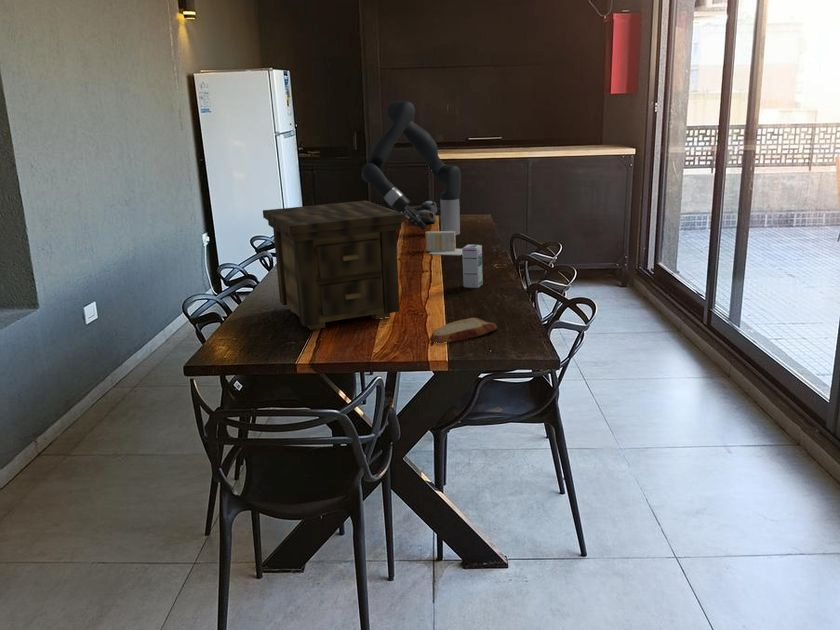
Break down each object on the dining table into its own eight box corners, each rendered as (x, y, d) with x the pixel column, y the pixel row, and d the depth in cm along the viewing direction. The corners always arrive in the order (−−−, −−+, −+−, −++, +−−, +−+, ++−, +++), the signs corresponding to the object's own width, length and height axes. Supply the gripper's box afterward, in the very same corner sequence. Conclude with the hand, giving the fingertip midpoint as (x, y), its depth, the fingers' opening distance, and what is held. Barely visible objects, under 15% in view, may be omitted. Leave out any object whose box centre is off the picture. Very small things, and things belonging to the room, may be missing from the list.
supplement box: (426, 249, 324) (455, 249, 323) (425, 251, 319) (455, 251, 318) (425, 230, 322) (455, 230, 320) (425, 232, 317) (455, 232, 316)
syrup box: (478, 288, 258) (478, 247, 254) (462, 287, 260) (461, 247, 256) (483, 284, 264) (482, 244, 259) (467, 283, 266) (466, 244, 261)
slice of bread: (428, 344, 203) (427, 332, 202) (438, 325, 220) (438, 313, 219) (492, 346, 200) (492, 333, 199) (498, 326, 217) (498, 314, 216)
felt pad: (435, 249, 326) (435, 248, 326) (475, 249, 321) (475, 248, 321) (428, 254, 315) (428, 253, 315) (469, 255, 310) (469, 254, 310)
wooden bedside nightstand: (371, 293, 256) (365, 200, 247) (409, 319, 226) (405, 214, 216) (272, 308, 243) (262, 210, 234) (299, 337, 213) (289, 226, 203)
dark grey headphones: (407, 222, 395) (413, 198, 397) (427, 229, 399) (433, 205, 401) (418, 218, 381) (424, 192, 383) (438, 225, 386) (444, 200, 387)
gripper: (398, 196, 310) (426, 225, 310) (406, 191, 322) (434, 219, 323) (386, 208, 313) (415, 237, 313) (395, 203, 325) (423, 231, 325)
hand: (424, 228), depth 318 cm, fingers closed
